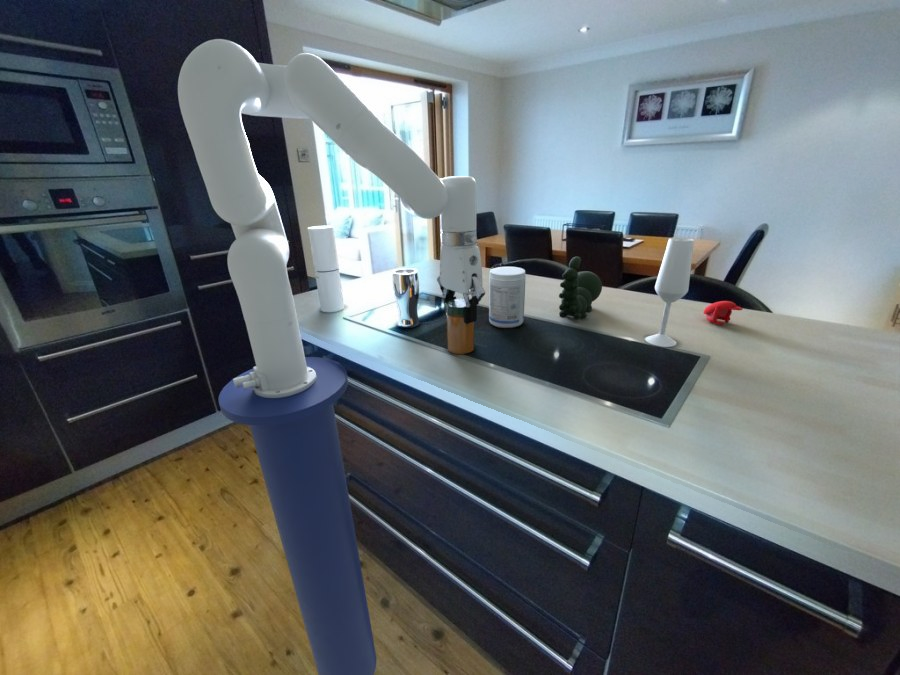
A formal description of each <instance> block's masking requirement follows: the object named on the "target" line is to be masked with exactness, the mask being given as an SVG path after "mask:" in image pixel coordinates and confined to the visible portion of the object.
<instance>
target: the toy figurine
mask: <svg viewBox="0 0 900 675" xmlns="http://www.w3.org/2000/svg"><path fill="white" fill-rule="evenodd" d="M581 262H582V258H581V257H580V256H573V257H572V258H571V259H570V261H569V263H568V267H569V268H568V269H566V270H565V271H564V272H563V273H562V275H561V278H563V280H562V282H560V284H559V287H560V288H562V291H561V292H560V293H559V294H558V298H560V299H561V301H560V305H558V308H559V310H560V311H559V313H558V315H559V317H560V318H566V317H567V316H569V317H572V318H573V319H574V320H576V321H579V320H580V319H582V320H583V319H586V318H587V314H589V313H591V312H592V311H593V306H592V304H593V302H595V301H596V300H597V299H598V298H599V297H600V295H601V293H602V290H603V283H602V280H601V278H600V277H599V276H598V275H597V274H596V273H594V272H592V271H588V270H583V271H578V268H579V267H580V266H581Z"/></svg>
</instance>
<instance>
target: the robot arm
mask: <svg viewBox="0 0 900 675" xmlns="http://www.w3.org/2000/svg"><path fill="white" fill-rule="evenodd" d="M177 97H178V98H177V99H178V106H179V109H180V114H181V116H182V120H183V123H184V127H185V128H186V132H187V134H188V138H189V141H190V142H191V147H192V149H193V152H194V156H195V159H196V162H197V166H198V168H199V171H200V173H201V177H202V179H203V182H204V185H205V188H206V192H207V195H208V198H209V201H210V203H211V206H212V208H213V210H214V212H215V213H216V214H217V215H218V217H220V219H222V220H223V221H225V222H227V223H228V224H230V227H231V228H232V231H233V234H234V237H235V240H234V241H233V242H232V243H231V245H230V247H229V249H228V253H227V270H228V272H229V276H230V279H231V282H232V284H233V287H234V289H235V291H236V292H235V293H236V295H237V298H238V301H239V304H240V308H241V312H242V315H243V316H242V317H243V320H244V322H245V327H246V332H247V334H248V339H249V342H250V346H251V350H252V354H253V359H254V362H255V365H254V366H252V369H254V372H250V373H249V374H250V375H246V376H241V377H238V378H236V377H234V378H232V380H233V382H234V385H235V387H236V388H237V387H240V386H243V388H244V390H245V389H248V388H251V387H253V390H254V392H255V394H257V395H258V396H261V397H264V398H282V397H287V396H291V395H294V394H297V393H300V392H302V391H304V390H306V389H308V388H309V387H310V386H312V385H313V383H314V382H315V381H316V373H315V371H314V370H313V369H312V368H310V367H307V365H306V360H305V357H306V355H305V351H304V350H305V349H304V344H303V341H302V340H303V339H302V336H301V335H302V334H301V330H300V326H299V325H300V324H299V319H298V314H297V310H296V305H295V299H294V295H293V290H292V286H291V283H290V279H289V274H288V267H287V265H288V261H289V258H290V246H289V242H288V238H287V235H286V232H285V227H284V225H283V222H282V218H281V215H280V211H279V208H278V205H277V204H278V203H277V201H276V198H275V195H274V192H273V190H272V188H271V186H270V184H269V183H268V182H267V181H266V180H265V178H264V177H262V176H261V175H260V174H259V173H258V170H257V167H256V164H255V161H254V158H253V154H252V151H251V150H252V149H251V147H250V142H249V140H248V137H247V135H246V132H245V128H244V124H243V120H242V114H243V115H249V116H254V117H269V118H270V117H271V118H284V119H285V118H286V119H298V120H299V119H301V120H303V119H304V120H307V119H308V120H309V119H310V120H311V121H312V122H313V123H314V124H315V125H316V126H317V127H318V128H319V129H320V130H321V131H322V132H323V133H324V134H325V135H326V136H327V137H328V138H329V139H330V140H331V141H332V142H334V143H335V145H337V146H338V147H339V149H341V151H343V152H344V153H345V154H346V155H347V156H348V157H349V158H350V159H351V160H353V161H354V162H355V163H356V164H357V165H359V166H360V167H362V168H364V169H365V170H367V171H368V172H370V173H371V174H373V175H374V176H376V177H377V179H379V180H380V181H381V182H383V183H384V184H385V185H386V186H387V187H388V188H389V189H390V190H391V191H392V192H393V193H394V194H396V196H398V197H399V200H400V203H401V205H402V207H403V208H404V209H405V210H406V211H407V212H408V213H410V214H412V215H414V216H416V217H419V218H421V219H425V220H428V219H429V220H431V219H435V218H437V217H439V216H440V245H441V246H440V251H439V252H440V253H439V276H437V278H436V282H437V283H438V285H439V289H440V291H441V293H442V294H441V296H442V298H443V307H444V308H443V309H444V310H443V311H444V316H446V310H445V305H446V302H447V301H449V300H452V299H457V296H456V295H455V294H456V293H458V294H461V295H462V297H463V299H464V300H465V304H466V306H464V323H466V324H468V323H472V322H474V323H475V322H477V320H478V313H477V312H478V307H477V306H479V304H480V302H481V301H482V298H484V296H485V295H486V290H485V288H484V287H483V266H482V257H481V256H482V255H481V251H480V247H479V245H477V241H478V236H477V181H476V179H475V178H474V177H473V176H471V175H453V176H452V175H451V176H445V177H439V176H438V175H437V174H436V172H434V171H433V170H432V169H431V168H430V166H429V165H428V164H427V163H426V162H425V161H424V160H423V159H422V157H420V156H419V154H417V153H416V151H414V150H413V149H412V148H411V147H410V146H409V145H408V144H407V143H405V141H403V140H402V139H401V138H400V136H398V135H397V134H396V133H394V131H393V130H392V129H391V128H390V127H388V126H387V125H386V124H385V122H383V121H382V120H381V119H380V118H379V117H378V116H377V115H376V114H375V113H374V112H373V111H372V110H371V108H369V107H368V106H367V105H366V104H365V103H364V101H363V100H362V99H361V98H360V97H359V96H358V95H357V94H356V93H355V92H354V91H353V90H352V88H351V87H349V85H348V84H347V83H346V82H345V81H344V80H343V79H342V78H341V77H340V76H339V75H338V74H337V72H336V71H334V70H333V68H332V67H331V66H330V65H329V64H328V63H326V62H325V61H324V60H323V59H322V58H321V57H319V56H317V55H315V54H313V53H309V52H302V53H298V54H297V55H295V56H293V57H292V58H291V59H290V60H289V61H288V62H287V65H284V64H283V65H282V64H274V63H273V64H272V63H263V62H257V60H256V59H255V58H254V56H253V55H252V54H251V53H250V52H249V51H248V50H247V49H245V48H244V47H243V46H241V45H240V44H238V43H236V42H234V41H231V40H229V39H223V38H215V39H209V40H207V41H205V42H202V43H201V44H200V45H198V46H196V47H195V48H194V49H193V50H192V51H191V52H190V53H189V54H188V55H187V57H186V58H185V60H184V62H183V63H182V65H181V68H180V71H179V76H178V80H177ZM470 295H471V298H470Z"/></svg>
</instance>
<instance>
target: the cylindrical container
mask: <svg viewBox="0 0 900 675" xmlns="http://www.w3.org/2000/svg"><path fill="white" fill-rule="evenodd" d="M307 233H308V239H309V244H310V245H309V246H310V251H311V258H312V264H313V271H314V276H315V282H316V288H317V294H318V300H319V305H320V311H321V312H323V313H336V312H340V311H343V310H344V309H345V302H344V297H343V295H344V294H343V288H342V281H341V273H340V267H339V259H338V252H337V245H336V238H335V231H334V226H333V225H314V226H308V227H307Z"/></svg>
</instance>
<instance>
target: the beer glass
mask: <svg viewBox="0 0 900 675" xmlns="http://www.w3.org/2000/svg"><path fill="white" fill-rule="evenodd" d="M392 291H393V296H394V300H395V303H396V308H397V313H398V318H397V326H398V327H399V328H402V329H412V328H416V327H418V326H420V323H421V322H420V319H419V314H418V309H419V308H418V306H419V298H420V281H419V274H418V269H416V268H406V267H405V268H399V269H398V268H397V269H394V270H392Z"/></svg>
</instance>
